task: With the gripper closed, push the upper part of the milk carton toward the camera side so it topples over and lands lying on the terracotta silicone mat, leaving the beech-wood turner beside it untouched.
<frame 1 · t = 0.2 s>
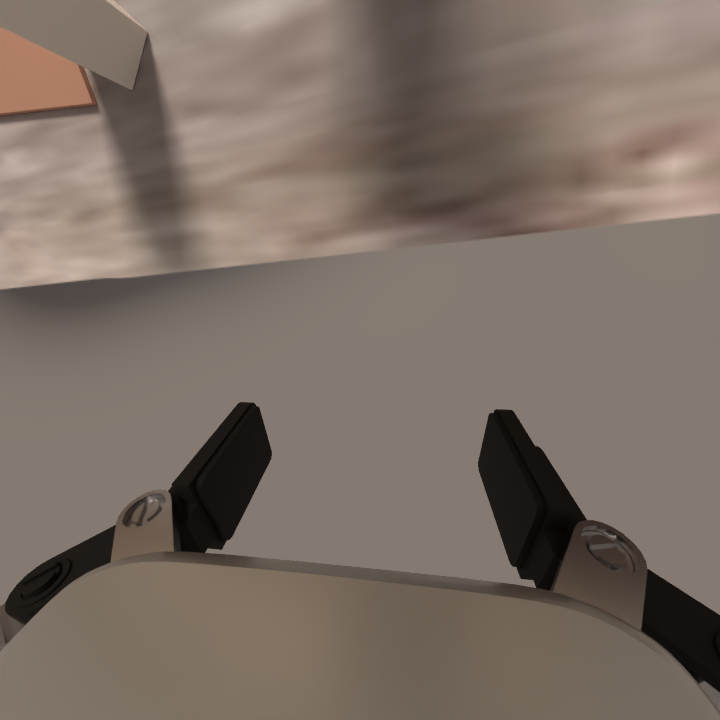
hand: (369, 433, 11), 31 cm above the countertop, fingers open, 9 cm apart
milk: (116, 40, 30), on the countertop
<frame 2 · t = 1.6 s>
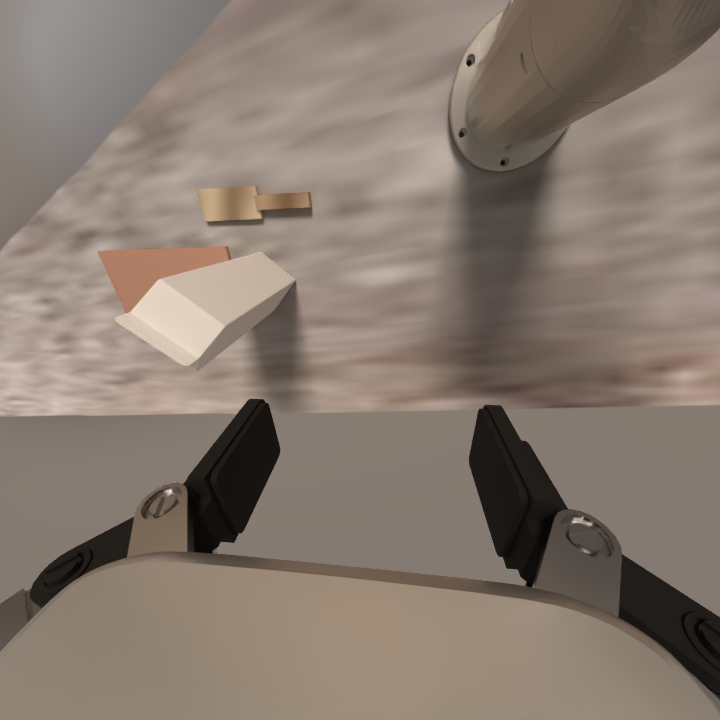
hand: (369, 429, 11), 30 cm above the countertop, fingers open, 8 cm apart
turner: (253, 203, 35), on the countertop
mat: (175, 283, 41), on the countertop
milk: (269, 281, 40), on the countertop
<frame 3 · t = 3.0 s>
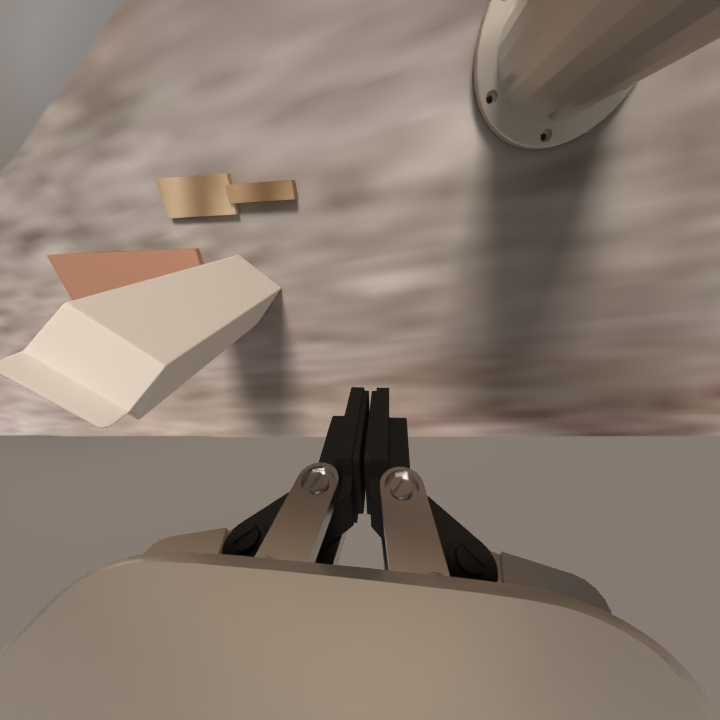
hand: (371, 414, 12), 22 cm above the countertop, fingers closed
turner: (226, 195, 28), on the countertop
mat: (140, 292, 35), on the countertop
milk: (250, 290, 33), on the countertop
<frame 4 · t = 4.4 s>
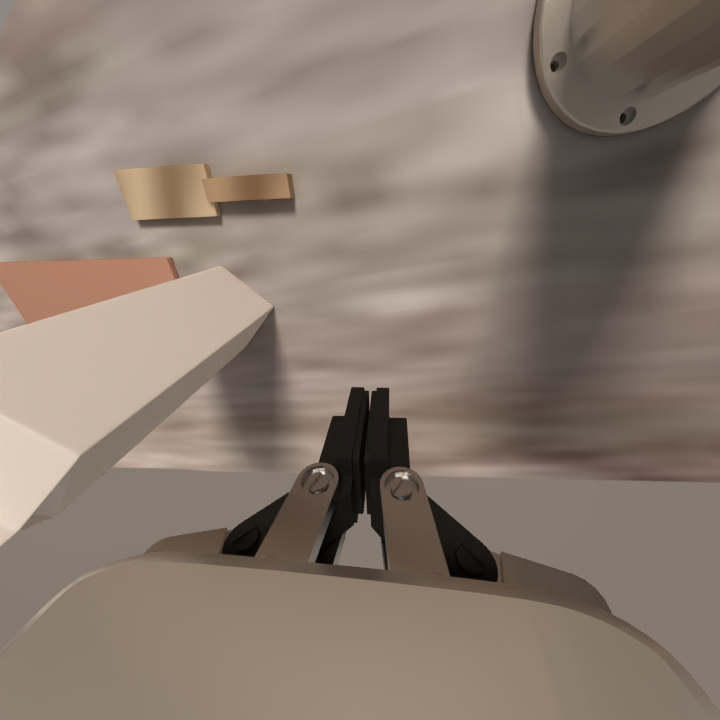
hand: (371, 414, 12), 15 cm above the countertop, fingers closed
turner: (204, 192, 22), on the countertop
mat: (104, 309, 29), on the countertop
milk: (236, 307, 27), on the countertop
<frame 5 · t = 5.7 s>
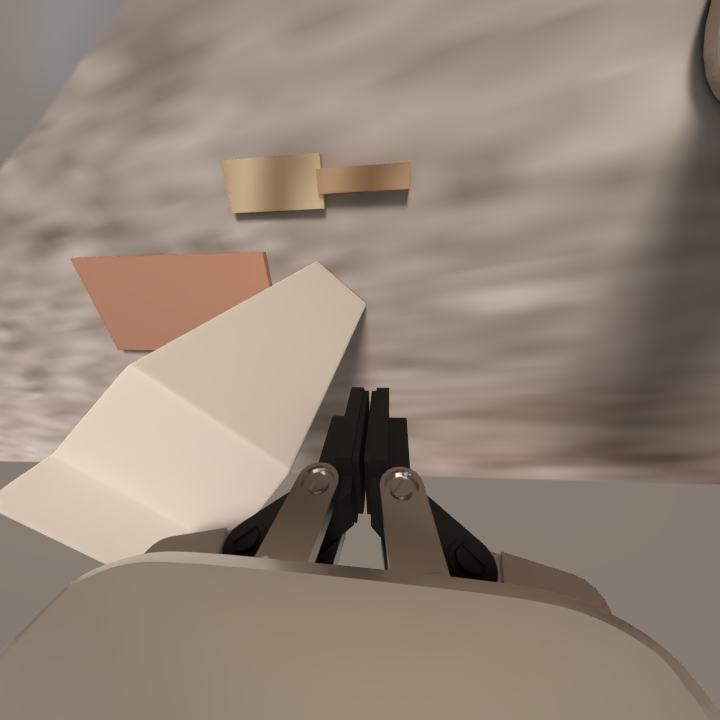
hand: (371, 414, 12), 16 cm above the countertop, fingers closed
turner: (311, 183, 22), on the countertop
mat: (184, 305, 28), on the countertop
milk: (324, 305, 26), on the countertop, touching gripper
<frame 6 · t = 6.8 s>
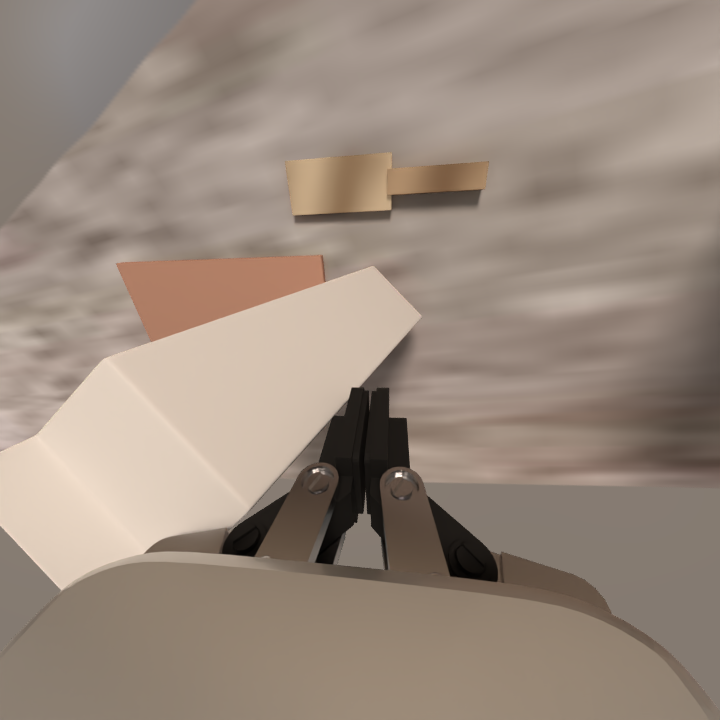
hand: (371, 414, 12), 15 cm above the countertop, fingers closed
turner: (378, 184, 21), on the countertop
mat: (231, 311, 27), on the countertop
milk: (377, 313, 24), point 1 cm above the countertop
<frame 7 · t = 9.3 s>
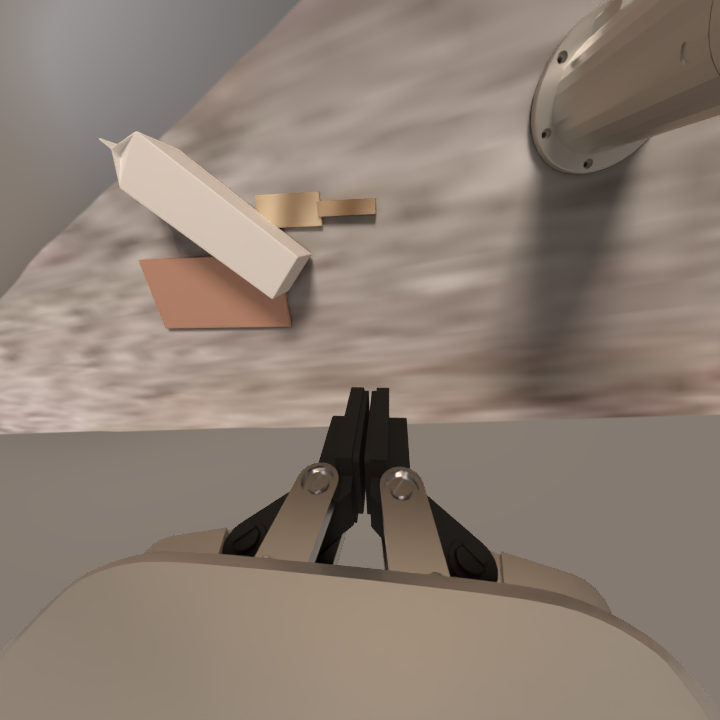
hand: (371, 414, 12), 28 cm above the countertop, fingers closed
turner: (313, 209, 33), on the countertop
mat: (219, 293, 39), on the countertop
milk: (294, 277, 33), point 4 cm above the countertop, touching mat
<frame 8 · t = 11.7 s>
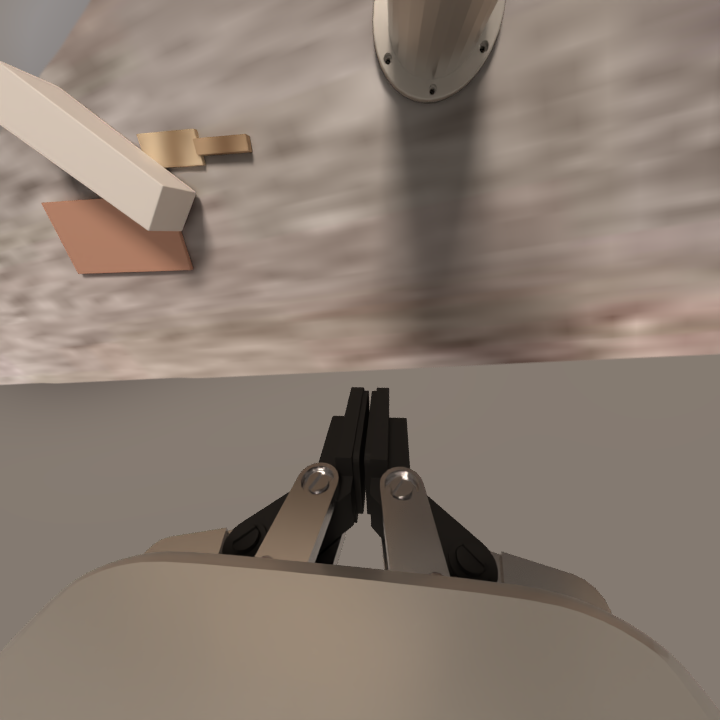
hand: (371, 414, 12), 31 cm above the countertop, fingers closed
turner: (194, 148, 35), on the countertop
mat: (121, 237, 41), on the countertop
milk: (175, 212, 35), point 4 cm above the countertop, touching mat
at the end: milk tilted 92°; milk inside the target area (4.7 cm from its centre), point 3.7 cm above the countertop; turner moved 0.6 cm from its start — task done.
